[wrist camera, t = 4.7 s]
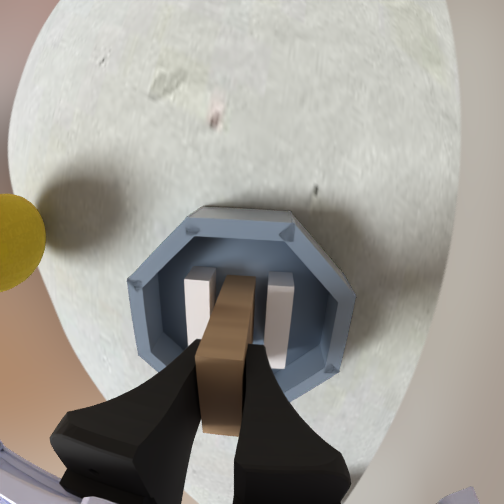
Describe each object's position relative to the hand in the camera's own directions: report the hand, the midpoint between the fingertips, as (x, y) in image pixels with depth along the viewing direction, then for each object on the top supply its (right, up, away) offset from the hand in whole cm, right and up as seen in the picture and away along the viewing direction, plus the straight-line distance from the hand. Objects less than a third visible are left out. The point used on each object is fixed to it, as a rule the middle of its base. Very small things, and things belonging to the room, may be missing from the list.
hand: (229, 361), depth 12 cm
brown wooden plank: (0, +1, +4) cm, 5 cm away
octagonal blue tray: (0, +2, +5) cm, 5 cm away
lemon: (-13, +6, +5) cm, 16 cm away
